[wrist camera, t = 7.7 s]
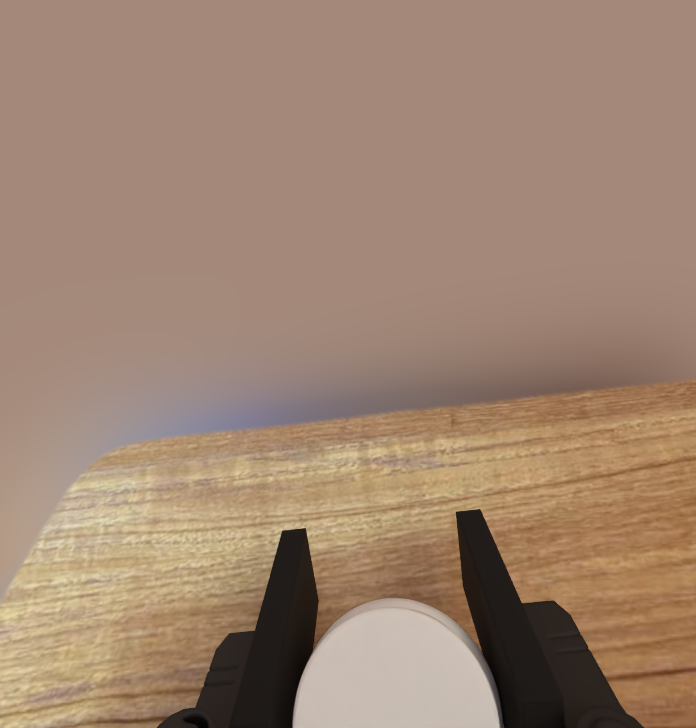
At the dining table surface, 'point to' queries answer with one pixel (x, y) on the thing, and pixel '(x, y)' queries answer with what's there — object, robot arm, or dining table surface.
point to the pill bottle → (396, 672)
